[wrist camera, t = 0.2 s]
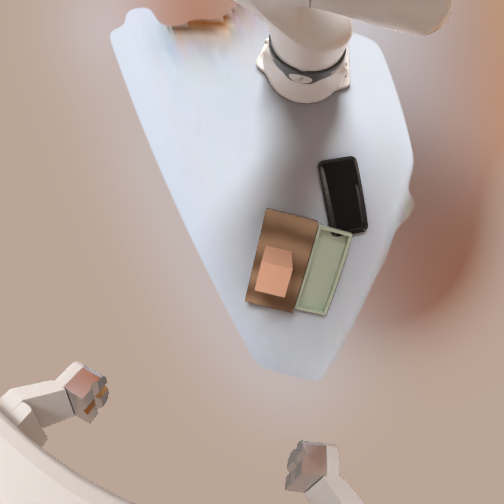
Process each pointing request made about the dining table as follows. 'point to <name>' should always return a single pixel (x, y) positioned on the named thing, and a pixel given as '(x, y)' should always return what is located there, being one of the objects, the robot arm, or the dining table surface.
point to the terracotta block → (274, 271)
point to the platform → (287, 238)
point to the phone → (343, 195)
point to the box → (323, 270)
